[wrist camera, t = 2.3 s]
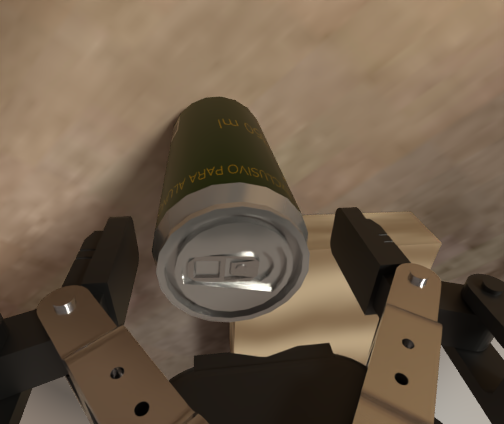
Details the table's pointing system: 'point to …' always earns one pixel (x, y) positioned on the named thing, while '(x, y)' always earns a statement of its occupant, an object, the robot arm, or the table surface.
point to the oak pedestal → (330, 295)
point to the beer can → (227, 218)
